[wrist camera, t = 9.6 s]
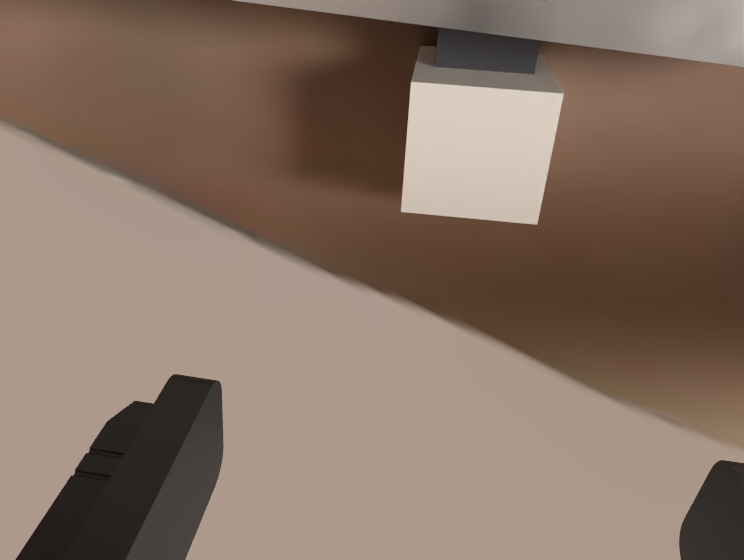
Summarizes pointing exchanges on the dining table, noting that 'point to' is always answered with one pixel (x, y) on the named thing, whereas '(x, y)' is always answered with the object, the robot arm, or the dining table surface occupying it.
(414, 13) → the housing
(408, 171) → the plug
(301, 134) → the dining table surface
